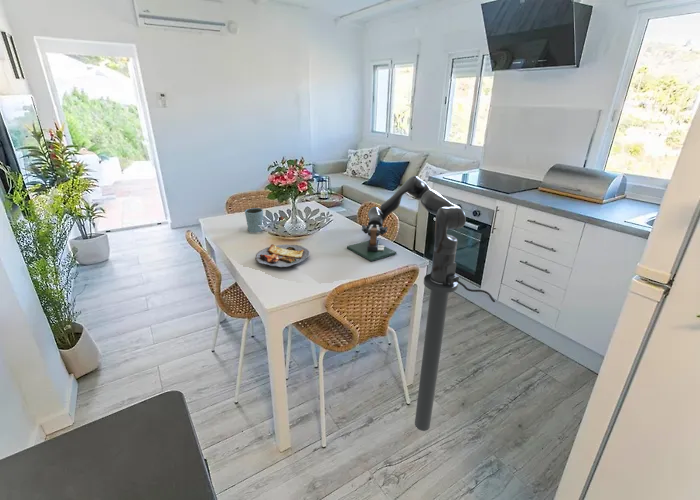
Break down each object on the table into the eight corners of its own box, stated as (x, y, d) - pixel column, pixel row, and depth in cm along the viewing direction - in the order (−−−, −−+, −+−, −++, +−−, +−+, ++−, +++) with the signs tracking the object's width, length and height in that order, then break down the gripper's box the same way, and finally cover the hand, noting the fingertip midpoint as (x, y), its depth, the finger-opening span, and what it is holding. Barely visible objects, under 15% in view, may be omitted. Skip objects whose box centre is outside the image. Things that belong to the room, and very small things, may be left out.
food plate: (245, 263, 160) (245, 256, 158) (273, 245, 179) (273, 239, 178) (293, 273, 151) (293, 266, 150) (317, 253, 171) (317, 246, 170)
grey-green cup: (256, 234, 196) (254, 214, 191) (242, 231, 201) (240, 211, 196) (268, 229, 204) (266, 209, 199) (255, 226, 209) (253, 206, 204)
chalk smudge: (384, 246, 179) (384, 245, 179) (383, 248, 176) (383, 247, 176) (378, 245, 180) (378, 244, 179) (377, 248, 177) (378, 246, 177)
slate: (396, 254, 173) (396, 251, 172) (371, 261, 164) (371, 259, 164) (370, 242, 188) (371, 240, 187) (346, 248, 179) (346, 246, 179)
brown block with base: (378, 244, 181) (379, 226, 177) (377, 251, 172) (378, 232, 168) (368, 243, 181) (369, 225, 178) (367, 250, 172) (368, 231, 169)
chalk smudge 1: (383, 248, 176) (383, 247, 176) (383, 251, 173) (383, 249, 173) (377, 248, 176) (377, 247, 176) (377, 250, 174) (377, 249, 173)
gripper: (362, 216, 186) (359, 226, 170) (389, 218, 185) (388, 228, 169) (362, 229, 189) (358, 240, 173) (388, 231, 187) (387, 242, 172)
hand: (373, 234), depth 171 cm, fingers closed on brown block with base, 3 cm apart
